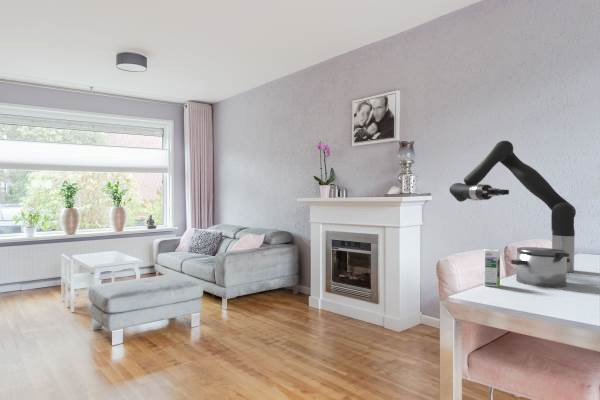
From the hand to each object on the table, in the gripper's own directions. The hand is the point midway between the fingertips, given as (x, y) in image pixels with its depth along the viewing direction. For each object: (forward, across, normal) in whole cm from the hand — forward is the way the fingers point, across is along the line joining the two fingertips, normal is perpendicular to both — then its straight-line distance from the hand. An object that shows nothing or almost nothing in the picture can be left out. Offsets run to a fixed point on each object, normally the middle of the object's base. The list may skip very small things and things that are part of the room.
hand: (507, 192), depth 187 cm
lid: (+19, 0, -26) cm, 32 cm away
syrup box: (+18, +25, -38) cm, 49 cm away
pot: (+18, 0, -38) cm, 42 cm away
